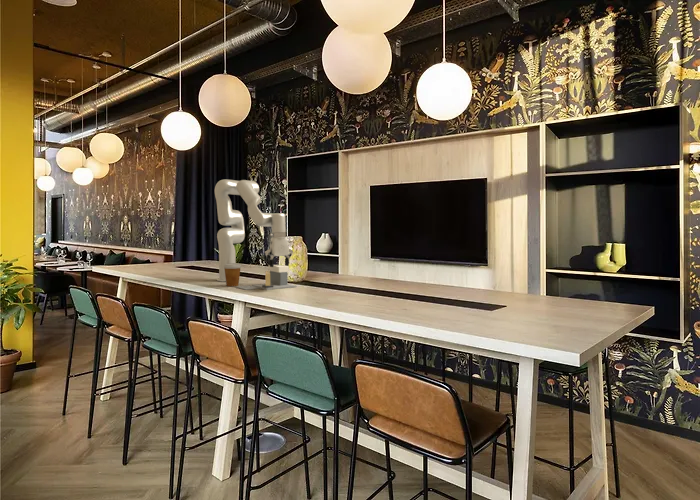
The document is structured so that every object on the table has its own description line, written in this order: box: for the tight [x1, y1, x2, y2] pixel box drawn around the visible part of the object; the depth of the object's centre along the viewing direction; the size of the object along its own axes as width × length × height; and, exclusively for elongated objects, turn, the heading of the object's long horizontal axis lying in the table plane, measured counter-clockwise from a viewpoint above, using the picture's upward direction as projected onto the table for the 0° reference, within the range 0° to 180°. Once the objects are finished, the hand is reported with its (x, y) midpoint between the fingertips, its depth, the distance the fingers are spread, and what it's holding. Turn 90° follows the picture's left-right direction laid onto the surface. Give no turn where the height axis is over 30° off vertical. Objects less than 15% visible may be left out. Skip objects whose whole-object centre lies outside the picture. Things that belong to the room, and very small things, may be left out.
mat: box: [234, 284, 261, 291], centre depth 248 cm, size 13×8×1 cm, turn 38°
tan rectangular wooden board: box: [264, 270, 270, 286], centre depth 242 cm, size 2×14×7 cm, turn 11°
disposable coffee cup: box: [224, 263, 242, 287], centre depth 255 cm, size 10×10×12 cm
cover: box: [267, 264, 290, 273], centre depth 258 cm, size 12×6×3 cm, turn 38°
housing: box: [251, 271, 297, 291], centre depth 253 cm, size 18×18×8 cm
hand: (279, 266), depth 258 cm, fingers open, 9 cm apart
